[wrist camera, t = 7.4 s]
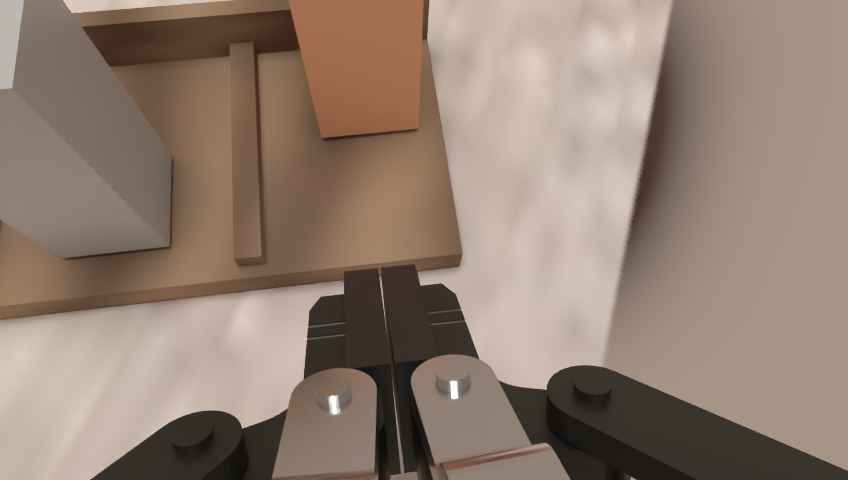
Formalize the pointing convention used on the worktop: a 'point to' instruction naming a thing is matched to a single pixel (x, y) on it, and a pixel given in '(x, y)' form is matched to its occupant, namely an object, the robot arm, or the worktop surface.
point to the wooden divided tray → (247, 170)
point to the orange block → (361, 63)
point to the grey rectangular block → (74, 141)
